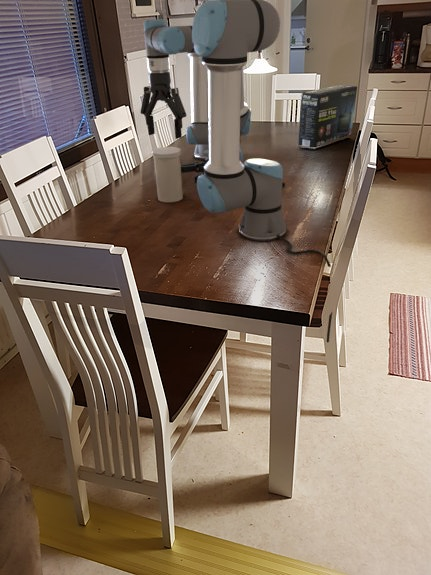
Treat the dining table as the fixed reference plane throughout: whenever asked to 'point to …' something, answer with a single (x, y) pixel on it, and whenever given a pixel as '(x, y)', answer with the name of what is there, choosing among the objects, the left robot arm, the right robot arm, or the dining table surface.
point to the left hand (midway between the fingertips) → (182, 177)
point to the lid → (166, 152)
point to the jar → (168, 179)
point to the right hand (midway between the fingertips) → (165, 136)
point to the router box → (326, 115)
